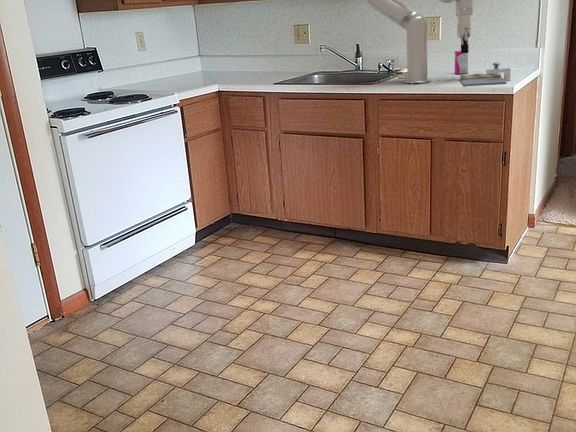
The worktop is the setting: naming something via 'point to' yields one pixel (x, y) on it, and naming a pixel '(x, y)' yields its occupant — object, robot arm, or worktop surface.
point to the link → (482, 74)
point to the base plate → (482, 81)
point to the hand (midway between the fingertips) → (464, 52)
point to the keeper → (506, 72)
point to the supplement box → (461, 63)
